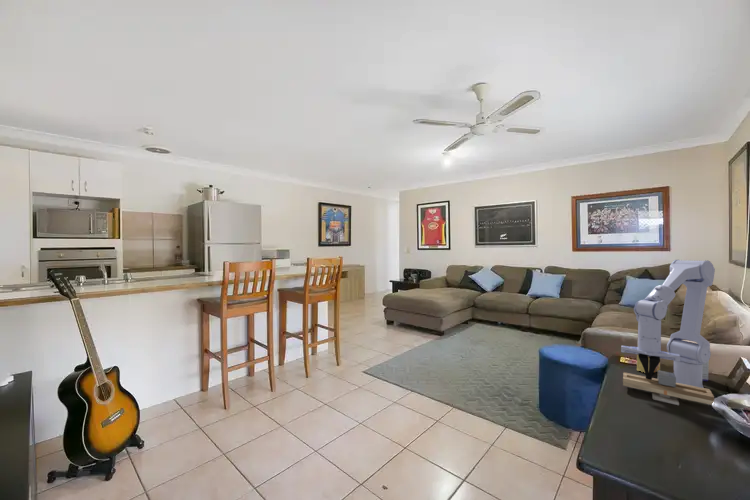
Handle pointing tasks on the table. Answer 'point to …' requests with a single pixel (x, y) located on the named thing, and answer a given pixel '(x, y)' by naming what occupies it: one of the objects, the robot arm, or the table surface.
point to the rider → (666, 378)
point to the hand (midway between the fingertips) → (648, 378)
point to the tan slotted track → (668, 390)
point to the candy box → (640, 366)
